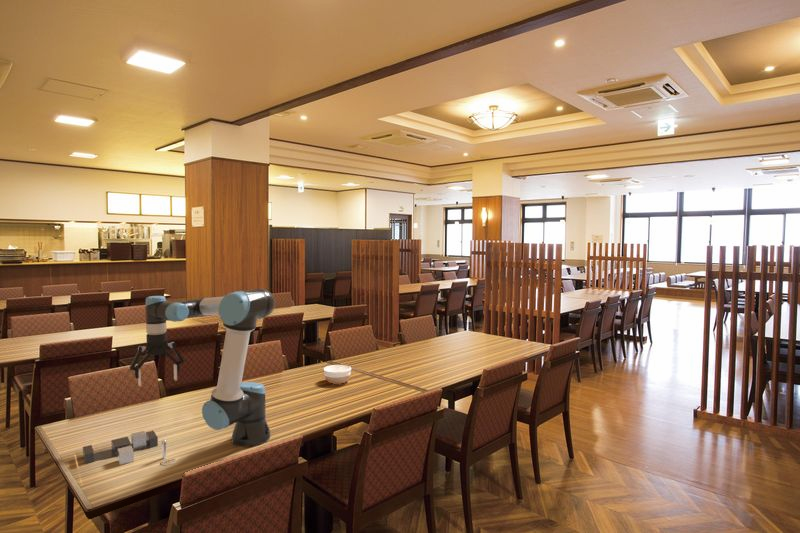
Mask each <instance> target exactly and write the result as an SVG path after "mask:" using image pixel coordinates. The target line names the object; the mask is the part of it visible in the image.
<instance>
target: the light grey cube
mask: <svg viewBox="0 0 800 533" xmlns="http://www.w3.org/2000/svg"><path fill="white" fill-rule="evenodd" d="M130 443H131V446H132V448H133V450H136V449H140V448H144V447H146V431H144V430H140V431H137V432H133V433H130Z"/></svg>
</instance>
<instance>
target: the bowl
mask: <svg viewBox="0 0 800 533" xmlns="http://www.w3.org/2000/svg"><path fill="white" fill-rule="evenodd" d="M323 371H324V373H323V375H324V379H325V380H326V381H327V382H330V383H333V384H332V385H334V384H339V385H342V384H341V383H344V384H346V383H347V382H348V380H350V378H351V374H352V373H351V371H352V367H351V366H349V365H348V364H347V365H345V364H332V365H331V364H330V365H327V366H325V367H324V368H323ZM346 381H347V382H346ZM345 382H346V383H345ZM330 383H329V384H330Z"/></svg>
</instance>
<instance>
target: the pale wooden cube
mask: <svg viewBox="0 0 800 533" xmlns="http://www.w3.org/2000/svg"><path fill="white" fill-rule="evenodd" d="M117 450H118V456H117V461H118V464H119V466H121V465H126V464H128V463H133V462H134V460H135V458H134V457H135V456H134V455H135V454H134V452H133V448H132V446H127V447H123V448H119V449H117Z"/></svg>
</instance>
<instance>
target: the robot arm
mask: <svg viewBox="0 0 800 533" xmlns="http://www.w3.org/2000/svg"><path fill="white" fill-rule="evenodd" d="M275 307H276V300H275V297H274V295H273V293H272V292H270V291H269V290H267V289H265V288H255V289H254V288H253V289H248V290H246V289H245V290H237V291H234V292H230V293H227V294H225V295H224V296H218V297H217V296H216V297H214V296H213V297H201V298H194V299H187V300H182V301H181V300H180V301H171V302H170V301H167V299H166V296H164V295H151V296H148V297H146V298H145V306H144V308H145V327H146V328H145V330H146V333H147V334H146V345H143V346H141V345H138V347H137V352H136V354H135V356H134V358H133V360H132V362H131V364H130V365H129V370H131V371H134V377H135V379H137V383H138V384H137V385H138V387H142V372H141V371H142V370H141V368H142V366H143V365H144V364H145V363H146V362H147V360H148V359H149V358H151V356H153V357H154V356H162V355H164V354H165V356H167V357H168V358H169V359H170V360H171V361H172V362H173V363H174V364H173V379H174V381H175V382H176V381H178V373H179V372H180V370H181V368H180V365H181V364H184V362H185V359H183V356H181V354H180V352H179V351H178V349H177V347H176V343H175V342H174V341H171V342H169V343H168V342H167V340H168V339H167V338H168V335H167V331H168V330H167V321H170V322H174V323H176V322H183V321H184V320H186V319H191V318H197V317H204V316H205V317H206V316H219V319H220V321H221V322H222V326H223V327H224V328H225V329H226V330H225V337H224V343H223V348H222V354H221V355H222V356H221V361H220V367H219V373H218V379H217V385H216V387H214V388H213V389H212V391H211V395H210V400H206V401H205V403H203V405H202V407H201V408H202V409H201V414H202V418H203V420H204V421H205V423H206V425H207V426H208V427H210V428H211V429H212V430H215V431H218V430H219V431H220V430H222V429H226V428H228V427H229V426H231V425H234V424H235V425H234V427H233V430H232V431H233V432H232V434H231V442H232V444H234V445H235V446H239V447H253V446H257V445H260V444H263V443H265V442H266V443H267V441H268V440H270V438H271V430H270V427H269V424H268V421H267V419H266V418H267V417H266V394H267V393H266V387H265V385H264V384H262V383H260V382H256V381H255V382H254V381H253V382H251V381H248V382H247V381H246V382H243V375H244V371H245V365H246V364H245V363H246V359H247V355H248V348H249V342H250V336H251V332H253V331H255V329H256V327H257V322H258V320H262V319H264V318H267V317H268V316H269V315H271V314H272V313H273V312H274V310H275ZM168 347H169V348H171V349H172V350H173V352H174V354H175V355H176V357H177V358H178V360H177V359H176V358H175V357H174V356H173V355H172V354H171V353H169V352H168V350H167V349H168ZM145 350H146V351H147V352H146V353H145V355H144V356H143V357H142V358H141V360H140V361H139V359H140V357H141V355H142V353H143V352H144V351H145ZM138 361H139V362H138Z"/></svg>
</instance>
